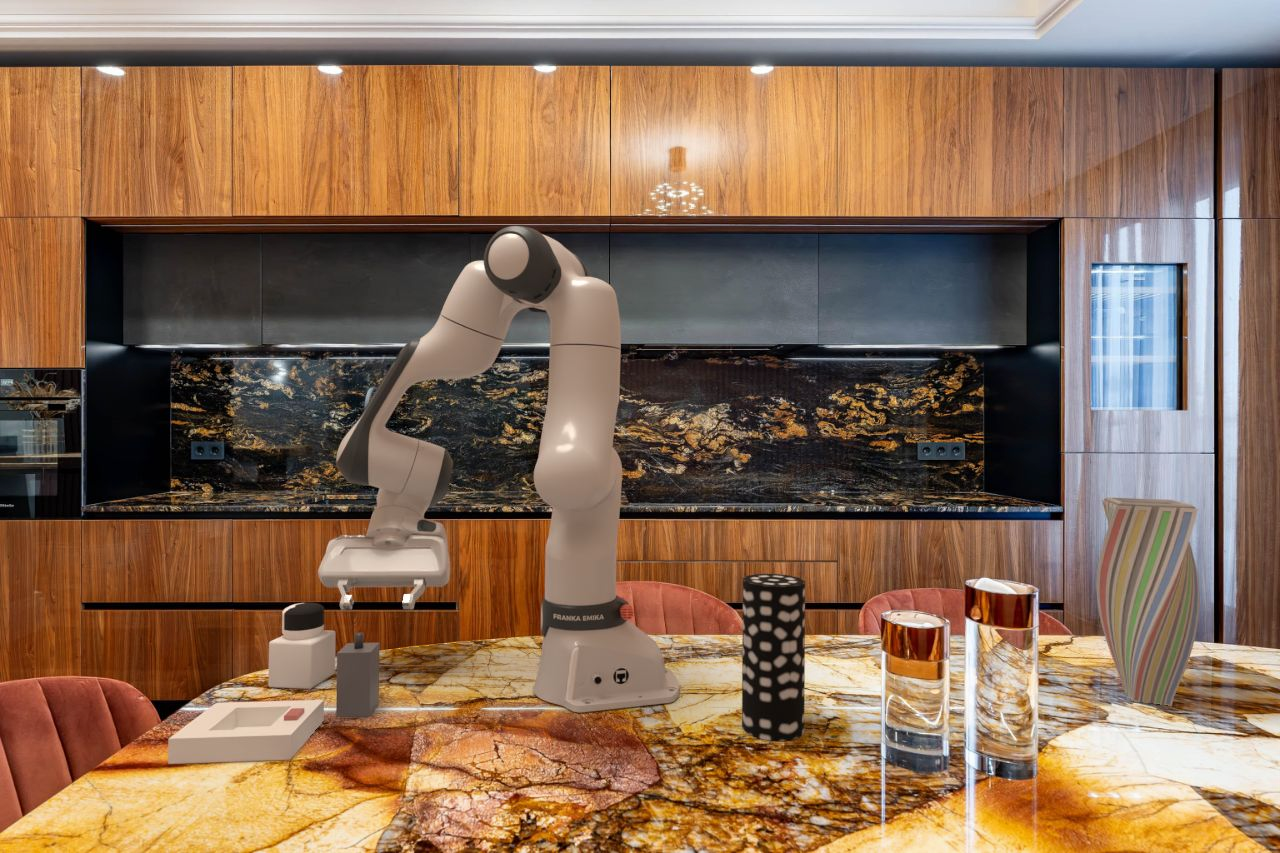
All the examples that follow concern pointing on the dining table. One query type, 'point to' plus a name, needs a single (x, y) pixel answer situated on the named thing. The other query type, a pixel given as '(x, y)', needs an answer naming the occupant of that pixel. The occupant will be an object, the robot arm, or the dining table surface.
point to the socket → (246, 732)
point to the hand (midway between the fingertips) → (376, 607)
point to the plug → (357, 678)
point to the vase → (1148, 594)
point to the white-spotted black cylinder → (773, 656)
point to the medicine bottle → (302, 649)
